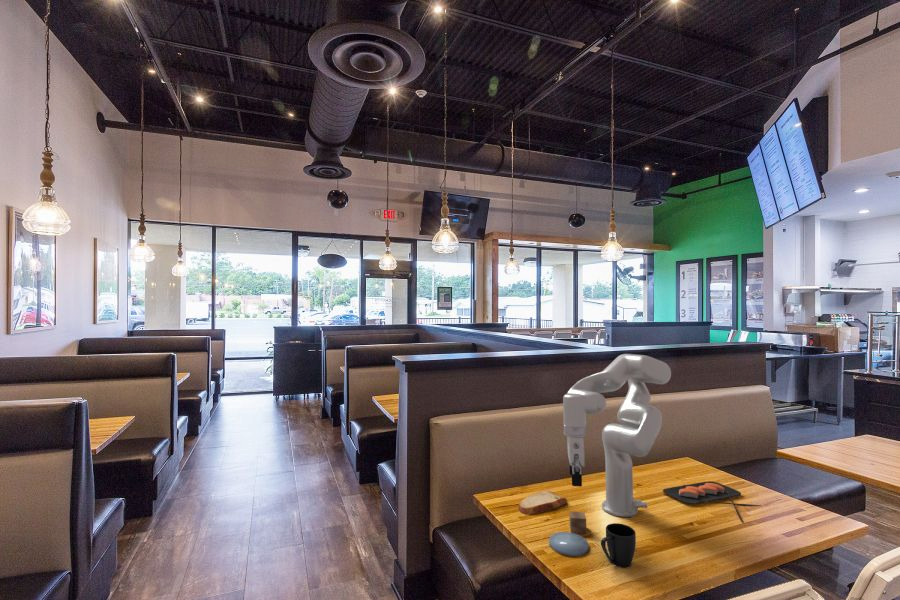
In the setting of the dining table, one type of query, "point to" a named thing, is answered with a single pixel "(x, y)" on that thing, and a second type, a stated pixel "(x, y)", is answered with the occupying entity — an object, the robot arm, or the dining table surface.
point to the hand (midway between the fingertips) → (575, 480)
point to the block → (577, 522)
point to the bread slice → (541, 502)
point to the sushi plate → (704, 493)
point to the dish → (568, 543)
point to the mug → (619, 544)
